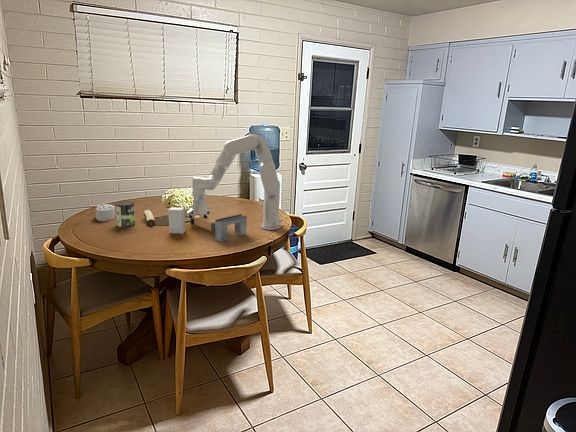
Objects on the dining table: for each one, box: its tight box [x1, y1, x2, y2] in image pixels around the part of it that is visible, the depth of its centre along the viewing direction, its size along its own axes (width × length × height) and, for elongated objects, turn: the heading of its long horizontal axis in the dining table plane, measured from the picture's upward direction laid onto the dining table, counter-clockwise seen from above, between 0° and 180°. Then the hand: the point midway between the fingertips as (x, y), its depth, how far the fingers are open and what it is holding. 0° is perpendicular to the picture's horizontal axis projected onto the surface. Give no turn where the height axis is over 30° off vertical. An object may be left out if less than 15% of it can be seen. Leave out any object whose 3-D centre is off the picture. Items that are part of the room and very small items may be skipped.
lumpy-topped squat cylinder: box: [95, 203, 116, 222], centre depth 250 cm, size 10×13×9 cm
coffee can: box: [115, 200, 136, 228], centre depth 237 cm, size 10×10×14 cm
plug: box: [194, 215, 215, 234], centre depth 240 cm, size 5×26×6 cm, turn 49°
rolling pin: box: [143, 209, 156, 227], centre depth 250 cm, size 32×6×5 cm, turn 22°
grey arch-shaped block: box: [214, 213, 248, 243], centre depth 226 cm, size 19×5×12 cm, turn 139°
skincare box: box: [167, 206, 186, 235], centre depth 229 cm, size 8×6×15 cm
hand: (198, 223), depth 245 cm, fingers open, 9 cm apart
